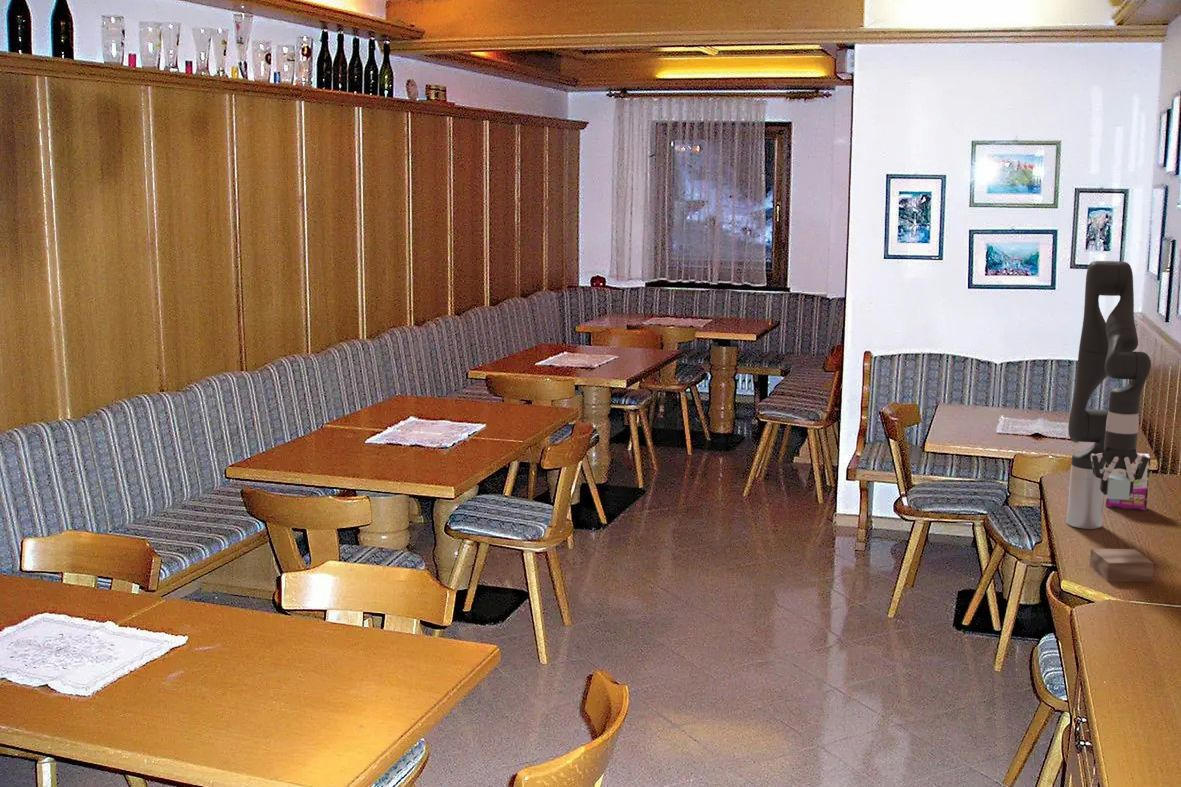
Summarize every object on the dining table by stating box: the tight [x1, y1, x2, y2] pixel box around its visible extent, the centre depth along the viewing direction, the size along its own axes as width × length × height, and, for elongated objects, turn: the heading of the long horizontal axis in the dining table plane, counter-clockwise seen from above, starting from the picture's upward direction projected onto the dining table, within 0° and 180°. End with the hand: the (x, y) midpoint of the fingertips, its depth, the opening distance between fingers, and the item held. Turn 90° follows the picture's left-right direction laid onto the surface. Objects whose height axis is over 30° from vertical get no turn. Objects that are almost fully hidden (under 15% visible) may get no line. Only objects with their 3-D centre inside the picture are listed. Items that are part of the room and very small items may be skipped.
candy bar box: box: [1105, 452, 1151, 511], centre depth 356 cm, size 11×5×16 cm, turn 68°
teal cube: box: [1104, 475, 1131, 500], centre depth 306 cm, size 5×5×5 cm
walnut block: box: [1089, 548, 1155, 583], centre depth 299 cm, size 11×11×5 cm
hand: (1115, 494), depth 307 cm, fingers closed on teal cube, 5 cm apart
